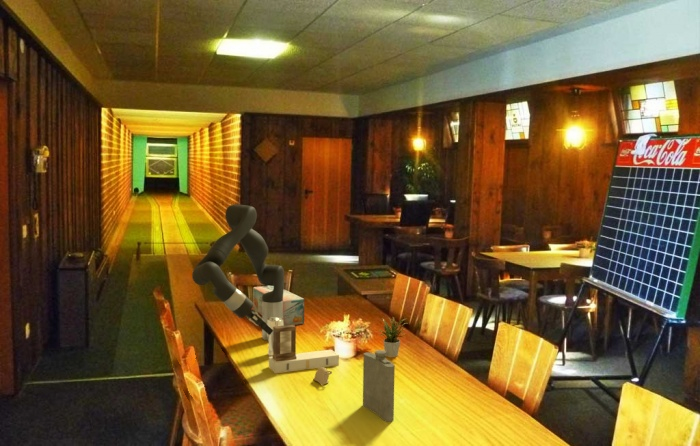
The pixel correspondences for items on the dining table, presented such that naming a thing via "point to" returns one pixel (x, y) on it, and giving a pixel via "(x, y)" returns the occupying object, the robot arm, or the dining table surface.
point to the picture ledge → (305, 361)
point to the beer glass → (271, 323)
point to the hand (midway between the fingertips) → (267, 329)
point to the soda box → (291, 305)
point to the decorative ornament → (322, 375)
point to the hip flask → (378, 384)
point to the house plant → (392, 338)
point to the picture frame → (284, 342)
